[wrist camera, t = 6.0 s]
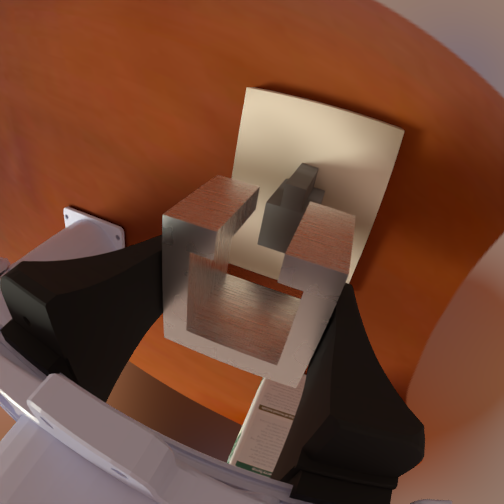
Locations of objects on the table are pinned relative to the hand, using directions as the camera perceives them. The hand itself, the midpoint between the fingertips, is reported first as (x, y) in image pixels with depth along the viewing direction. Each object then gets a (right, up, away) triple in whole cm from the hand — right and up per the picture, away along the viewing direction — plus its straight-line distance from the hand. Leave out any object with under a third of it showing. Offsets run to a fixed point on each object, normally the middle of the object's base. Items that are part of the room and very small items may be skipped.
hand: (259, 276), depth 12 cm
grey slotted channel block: (0, +1, +1) cm, 2 cm away
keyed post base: (+3, +4, +7) cm, 9 cm away
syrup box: (+4, -12, +17) cm, 22 cm away
